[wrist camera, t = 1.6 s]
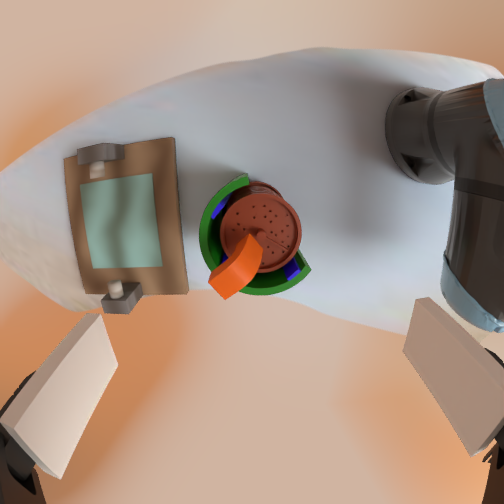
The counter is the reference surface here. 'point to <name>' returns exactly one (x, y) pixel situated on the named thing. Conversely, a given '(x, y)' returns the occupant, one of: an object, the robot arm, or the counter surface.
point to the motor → (251, 240)
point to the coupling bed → (127, 221)
